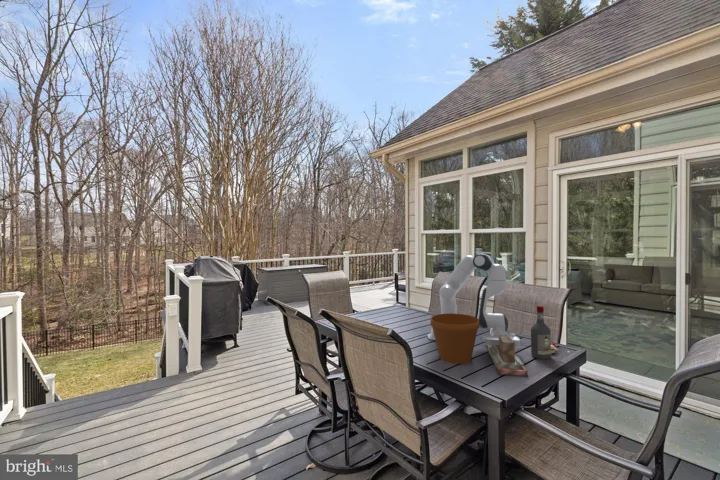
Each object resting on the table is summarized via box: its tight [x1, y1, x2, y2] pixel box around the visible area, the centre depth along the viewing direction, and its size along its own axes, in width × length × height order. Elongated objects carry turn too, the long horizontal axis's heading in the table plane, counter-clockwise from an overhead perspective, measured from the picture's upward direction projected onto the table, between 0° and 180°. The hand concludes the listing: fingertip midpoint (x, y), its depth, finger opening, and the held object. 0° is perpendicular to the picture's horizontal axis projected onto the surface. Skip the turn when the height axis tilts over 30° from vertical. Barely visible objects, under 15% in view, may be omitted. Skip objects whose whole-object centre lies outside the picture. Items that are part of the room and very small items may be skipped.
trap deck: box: [485, 344, 528, 377], centre depth 197 cm, size 14×48×4 cm, turn 167°
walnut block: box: [499, 336, 516, 363], centre depth 189 cm, size 6×12×11 cm, turn 167°
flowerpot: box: [430, 313, 480, 365], centre depth 200 cm, size 28×28×24 cm
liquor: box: [530, 305, 552, 360], centre depth 198 cm, size 9×9×30 cm
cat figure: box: [551, 340, 559, 355], centre depth 213 cm, size 10×9×25 cm
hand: (504, 345), depth 195 cm, fingers closed, pressing on walnut block
